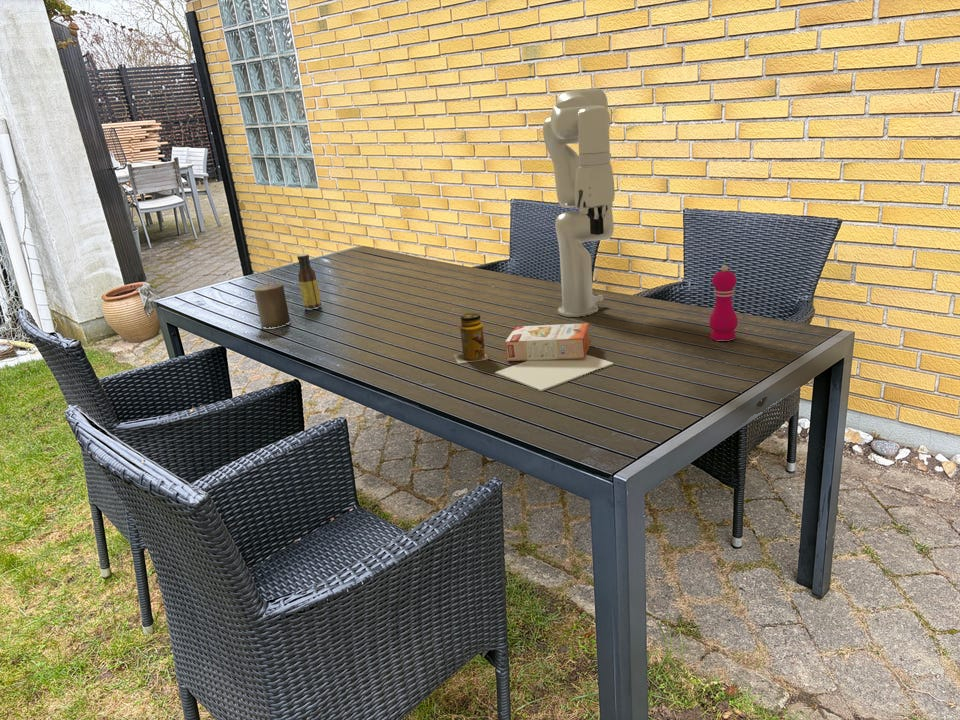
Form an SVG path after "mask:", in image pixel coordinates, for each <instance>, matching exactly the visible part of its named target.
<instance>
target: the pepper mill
mask: <svg viewBox="0 0 960 720" xmlns="http://www.w3.org/2000/svg"><path fill="white" fill-rule="evenodd" d="M720 267H721V268H720V271H717V272H716V273H715V274H714V275H713V277H712V281H711V282H712V285H713V287H714V289H713V290H714V291H713V292H714V293H713V295H714V296H715V306H714V308H713V311H712V313H711V315H710V317H709V322H708V325H709V328H710V329H711V330H712V331H711V332H710V339H711V338H712V339H715V340H730V339H733V338H735V339H736V331H735V330H736V328H737V327H738V325H739V321H738V317H737V314H736V312H735V310H734V307H733V296H735V289H734V287H736V284H737V277H736V274H735V273H734V272H732V271H730V270H729V267H728V265H727V264H723V265H722V266H720ZM712 339H711V340H712Z"/></svg>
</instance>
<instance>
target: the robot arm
mask: <svg viewBox="0 0 960 720" xmlns="http://www.w3.org/2000/svg"><path fill="white" fill-rule="evenodd" d="M608 107H609V102H608V97H607V95H606V93H605V91H604V90H603V89H601V88H599V87H593V88H585V89H584V88H583V89H572V90H567V91H564V92H563V93H561V94H560V95H559V96H558V97H557V99H556V100H555V104H554V106H553V107H552V109H551V111H550V112H551V113H550V117H548V118H546V119H545V121H543V124H542V135H543V142H544V145H545V148H546V150H547V152H548V155H549V157H550V159H551V161H552V165H553V170H554V171H553V172H554V182H555V191H556V197H557V203H558V204H559V205H560V207H562V208H578V209H579V210H571V211H566V212H562V213H560V214H559V215H558V216H557V217H556V219H555V222H554V226H555V233H556V238H557V242H558V243H557V244H558V248H559V249H558V250H559V261H560V262H559V265H560V285H561V302H562V304H561V306H559V307H558V308H557V313H558V314H559V315H560V316H563V317H569V318H581V317H580V316H583V317H587V316H586V315H589V316H591V314H592V315H594V314H593V313H595V312H596V313H598V311H599V307H598V306H597V302H600V301H604V299H605V298H604V294H597V295H596V296H595V295H594V294H593V275H592V274H593V273H592V256H591V253H590V252H589V251H588V249H586V247H585V246H584V245H583V243H587V242H597V241H604V240H608V239H611V237H612V236H613V235H614V230H615V229H614V217H613V206H614V205H613V203H614V201H615V195H616V194H615V191H616V190H615V178H614V172H613V167H612V164H611V157H612V154H611V151H610V150H611V147H610V145H611V144H610V142H611V141H610V127H611V115H610V112H609V109H608ZM568 144H578V153H577V151H575V149H573V148H572V147H571V146H569V145H568ZM596 313H595V314H596Z"/></svg>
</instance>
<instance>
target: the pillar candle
mask: <svg viewBox="0 0 960 720" xmlns="http://www.w3.org/2000/svg"><path fill="white" fill-rule="evenodd" d="M253 290H254V295H255V296H254V297H255V301H256V307H257V311H258V316H259V322H260V326H261V328H262V327H266V328H269V327H271V328H272V327H278V326H282V325H284V324H286V323H288V322H289V321H290V322H291V319H290V313H289V307H288V305H287V304H288V303H287V298H286V294H285V287H284V283H281V282H275V283H274V282H273V283H269V282H267V283H266V284H262V285H259V286H256V287H254V288H253Z"/></svg>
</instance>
